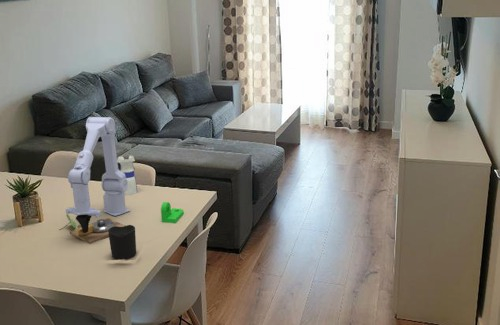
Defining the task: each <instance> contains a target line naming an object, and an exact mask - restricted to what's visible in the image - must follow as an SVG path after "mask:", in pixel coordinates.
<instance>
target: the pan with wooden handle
mask: <svg viewBox="0 0 500 325" xmlns="http://www.w3.org/2000/svg"><path fill="white" fill-rule="evenodd" d="M111 227H114V222H112V221H105V219H104V218H101V219H97V220H96V221H94V222H92V223H89V225H88V232H86V233H83V230H82V227H80V228H77V227H76V228H74V230H75V235H76V236H78V237H80V236H83V235H86V234H89V233H91V232H96V233H99V232H106V231H108V230H109V229H110V228H111Z"/></svg>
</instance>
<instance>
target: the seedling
mask: <svg viewBox="0 0 500 325" xmlns="http://www.w3.org/2000/svg"><path fill="white" fill-rule="evenodd" d="M66 218H67V220H68V221H69V223H67V224H65V226H64V227H62V228H60V229H59V231H61V230H62V229H64V228H66V227H67V226H68V225H69V224H71V226H72V227H73V228H74V229H77V226H78V224H77V222H75V220H73V219H71V217H70V216H69V214H66Z"/></svg>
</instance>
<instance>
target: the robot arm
mask: <svg viewBox="0 0 500 325" xmlns="http://www.w3.org/2000/svg"><path fill="white" fill-rule="evenodd" d="M85 129H86V132H87V133H86V137H85V141H84V146H83V149H82V151H79V153H78V155H77V157H76V160H75V163H74V167H73V168H72V169H70V170H69V172H68V175H67V180H68V182H69V184H70V188H71V189H72V194H73V202H74V207H67V208H65V213H66V214H68V215H69V214H72V215H76V216H75V220H76V221H77V222H78V223H79V225H81V227H82V230H83V233H86V232H88V225H89V224H90V221H91V218H92V217H96V218H99V217H101V216H102V212H104V213H107V214H109V215H112V216H114V217H117V216H120V215H122V214H125V213H128V212H130V211H131V209H129V208H126V198H125V196H126V195H124V192H125V191H126V190H127V187H128V182H127V179H126V176H125V174H124V173H123V172H121V171H120V168H119V163H118V162H117V159H118V154H117V148H116V140H115V135H116V133H117V130H116V123H115V120H114V118H112V117H111V116H109V117H104V116H103V117H100V116H99V117H98V116H96V117H93V116H88V118H87V119H86V123H85ZM100 138H101V143H102V151H103V152H102V153H103V157H104V158H103V159H104V165H105V172H104V173H103V174H102V176H101V189H102V190H103V191H104V194H103V197H102V198H103V210H102V211H101V210H98V209H95V208H92V207H91V199H90V192H89V182H90V180H91V171H92V170H91V167H92V163H93V161H94V154H93V151H94V149H95V147H96V146H97V144H98V141H99V139H100Z"/></svg>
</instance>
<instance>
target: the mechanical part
mask: <svg viewBox="0 0 500 325" xmlns="http://www.w3.org/2000/svg"><path fill="white" fill-rule="evenodd" d="M171 206H172V205H171V203H170V202H169V201H168V202H165V201H164V202H162V203H161V206H160V214H161V223H170V224H177V222H179V220H180V219H181V218H182V217H183V216H184V214H185V213H184V209H183V208H174V207H173V208H172V207H171Z"/></svg>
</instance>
